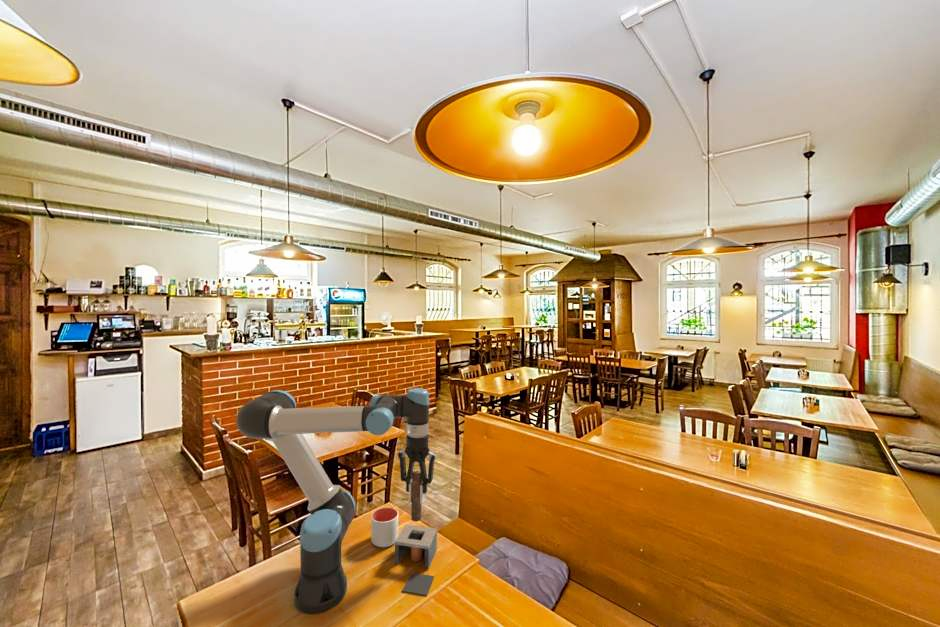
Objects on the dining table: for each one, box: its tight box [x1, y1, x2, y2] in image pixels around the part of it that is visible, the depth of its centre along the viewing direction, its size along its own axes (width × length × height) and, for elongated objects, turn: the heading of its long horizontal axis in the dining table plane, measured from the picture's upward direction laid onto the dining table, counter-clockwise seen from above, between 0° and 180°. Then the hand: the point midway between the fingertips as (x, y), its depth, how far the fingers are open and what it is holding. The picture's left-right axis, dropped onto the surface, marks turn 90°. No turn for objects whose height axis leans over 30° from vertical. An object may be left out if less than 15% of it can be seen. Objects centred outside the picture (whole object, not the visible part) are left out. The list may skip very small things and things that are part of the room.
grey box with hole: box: [394, 524, 438, 570], centre depth 133 cm, size 12×10×8 cm
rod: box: [410, 470, 422, 522], centre depth 130 cm, size 3×3×16 cm
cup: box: [370, 506, 399, 548], centre depth 142 cm, size 10×10×10 cm
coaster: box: [401, 572, 435, 597], centre depth 121 cm, size 8×8×1 cm
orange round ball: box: [410, 547, 423, 562], centre depth 133 cm, size 4×4×4 cm
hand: (416, 501), depth 130 cm, fingers closed on rod, 3 cm apart
